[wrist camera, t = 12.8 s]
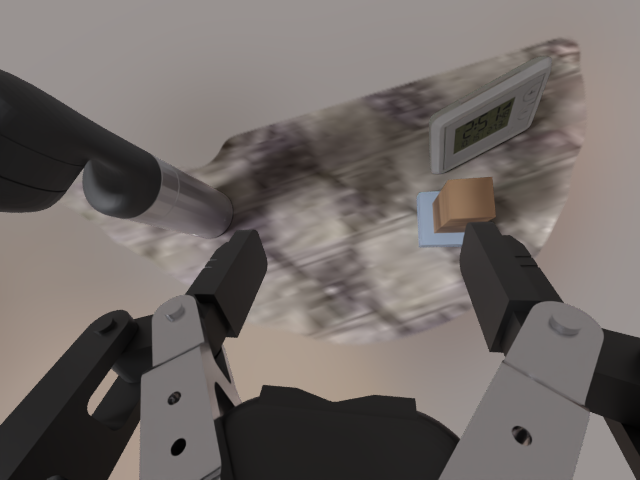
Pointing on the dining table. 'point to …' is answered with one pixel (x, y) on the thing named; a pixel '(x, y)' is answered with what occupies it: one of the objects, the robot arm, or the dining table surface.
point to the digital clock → (487, 115)
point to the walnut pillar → (463, 204)
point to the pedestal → (427, 227)
